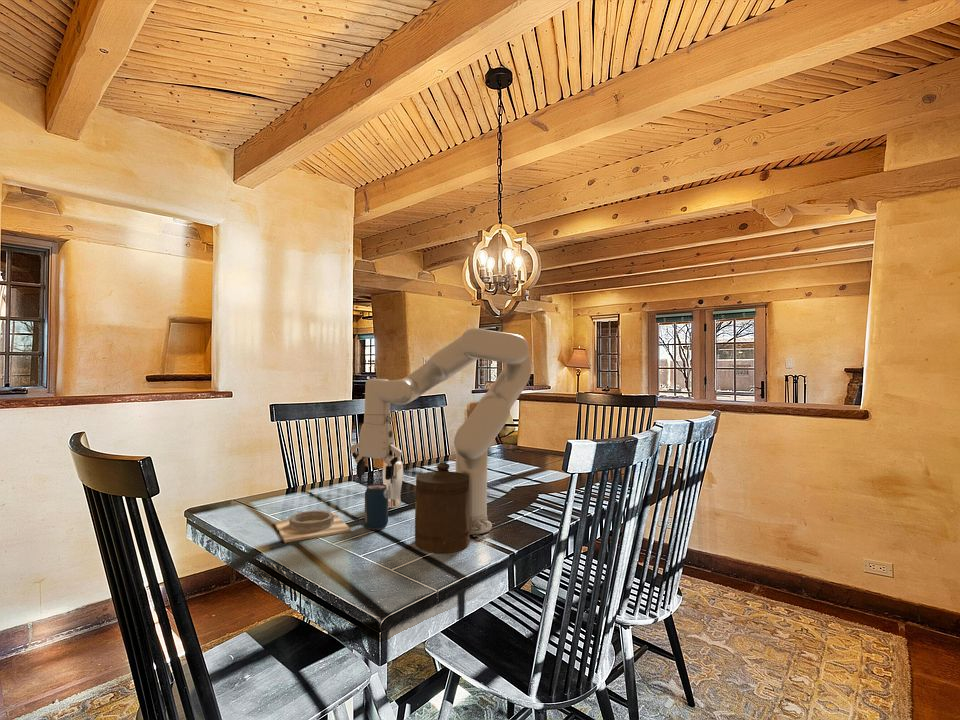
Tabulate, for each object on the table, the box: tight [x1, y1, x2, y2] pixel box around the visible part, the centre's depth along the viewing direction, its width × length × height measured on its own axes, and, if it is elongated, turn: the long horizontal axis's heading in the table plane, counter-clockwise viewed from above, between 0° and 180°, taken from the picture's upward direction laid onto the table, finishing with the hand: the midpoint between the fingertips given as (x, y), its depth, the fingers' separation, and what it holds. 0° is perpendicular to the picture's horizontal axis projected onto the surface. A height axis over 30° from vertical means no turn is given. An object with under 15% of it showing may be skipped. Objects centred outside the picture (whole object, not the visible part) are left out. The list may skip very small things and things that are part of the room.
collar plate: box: [273, 510, 352, 544], centre depth 146 cm, size 18×18×3 cm
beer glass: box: [382, 460, 404, 509], centre depth 169 cm, size 7×7×15 cm
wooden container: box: [414, 461, 471, 554], centre depth 135 cm, size 15×15×22 cm
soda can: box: [364, 483, 389, 530], centre depth 148 cm, size 7×7×12 cm
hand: (374, 476), depth 148 cm, fingers open, 9 cm apart
